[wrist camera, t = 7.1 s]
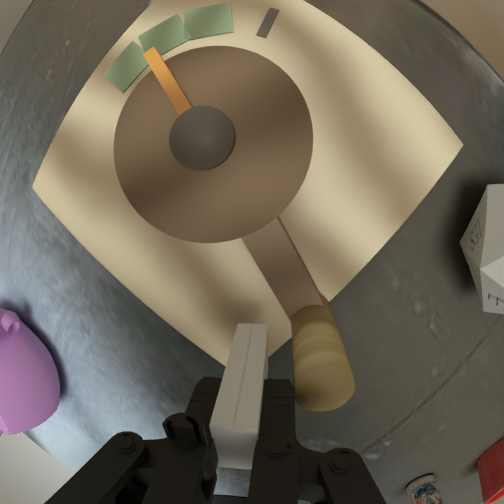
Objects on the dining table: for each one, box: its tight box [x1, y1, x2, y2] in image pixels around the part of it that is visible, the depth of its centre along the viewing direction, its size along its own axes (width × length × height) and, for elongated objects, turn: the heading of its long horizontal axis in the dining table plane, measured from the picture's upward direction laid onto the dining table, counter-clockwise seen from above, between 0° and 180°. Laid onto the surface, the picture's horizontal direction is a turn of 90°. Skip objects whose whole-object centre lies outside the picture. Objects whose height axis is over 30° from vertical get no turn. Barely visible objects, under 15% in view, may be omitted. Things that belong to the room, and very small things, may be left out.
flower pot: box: [477, 438, 504, 504], centre depth 18 cm, size 11×11×10 cm
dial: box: [113, 46, 355, 412], centre depth 12 cm, size 18×10×7 cm, turn 30°
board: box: [32, 0, 463, 366], centre depth 15 cm, size 22×22×1 cm
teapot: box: [0, 308, 60, 436], centre depth 18 cm, size 20×13×12 cm, turn 151°
